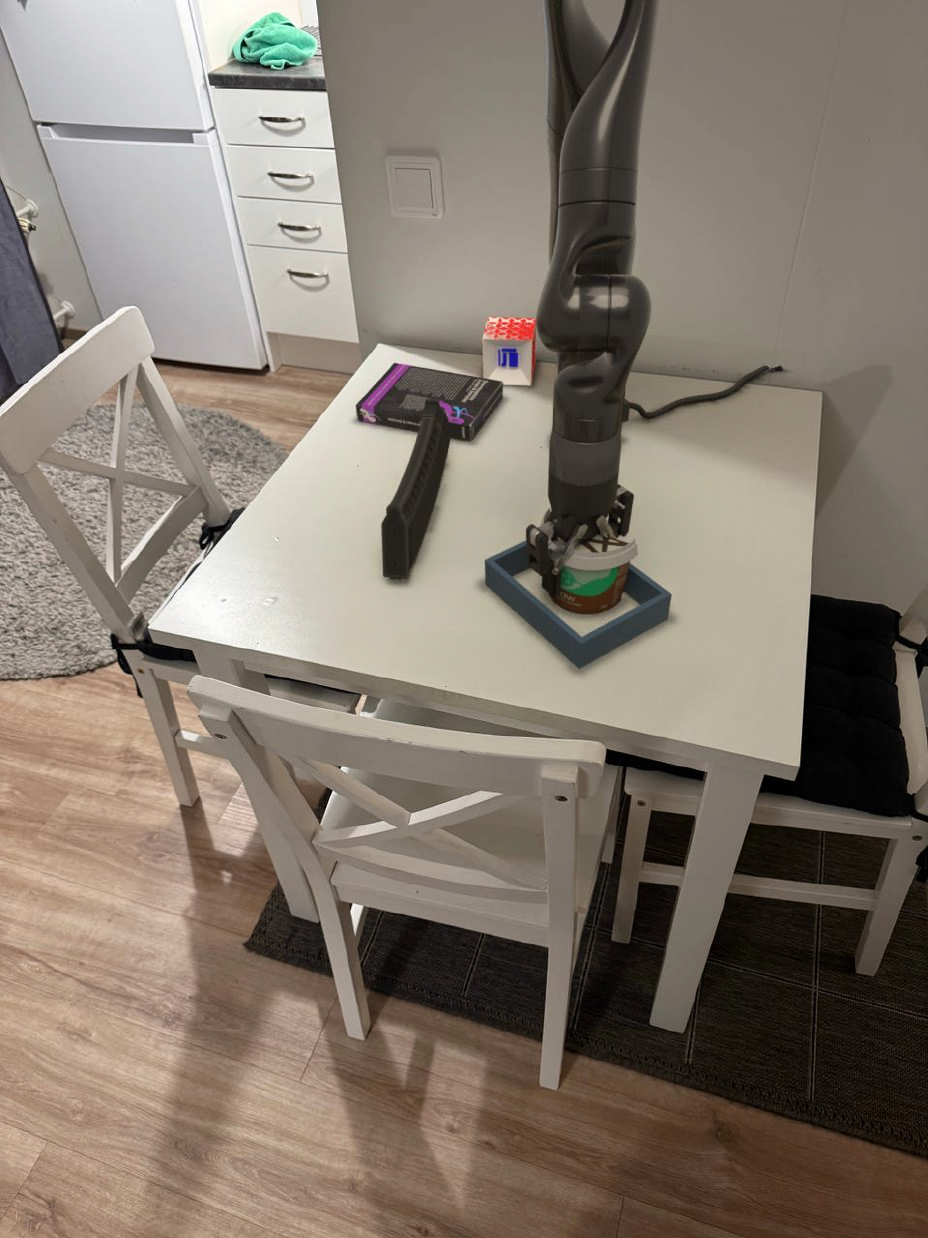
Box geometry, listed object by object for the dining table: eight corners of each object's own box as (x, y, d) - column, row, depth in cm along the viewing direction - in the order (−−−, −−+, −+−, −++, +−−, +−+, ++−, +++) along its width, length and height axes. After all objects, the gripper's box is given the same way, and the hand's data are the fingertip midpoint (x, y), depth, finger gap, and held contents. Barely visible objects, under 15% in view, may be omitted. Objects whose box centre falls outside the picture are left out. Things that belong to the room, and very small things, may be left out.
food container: (517, 597, 111) (517, 532, 104) (543, 570, 115) (545, 505, 108) (607, 635, 106) (613, 569, 99) (631, 605, 109) (639, 540, 102)
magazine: (398, 542, 105) (440, 356, 120) (371, 540, 106) (416, 355, 120) (417, 617, 120) (452, 442, 135) (393, 615, 120) (431, 441, 135)
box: (357, 423, 143) (471, 444, 137) (354, 403, 141) (470, 423, 134) (396, 381, 152) (504, 398, 146) (393, 361, 150) (504, 378, 143)
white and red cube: (535, 362, 155) (536, 318, 149) (531, 385, 149) (532, 340, 144) (488, 361, 156) (487, 316, 150) (483, 383, 150) (481, 338, 145)
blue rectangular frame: (569, 543, 118) (571, 518, 116) (667, 619, 107) (672, 593, 105) (485, 584, 113) (484, 559, 110) (579, 669, 102) (580, 643, 99)
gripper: (553, 503, 92) (549, 622, 103) (658, 454, 97) (643, 572, 109) (508, 469, 96) (509, 587, 108) (611, 425, 102) (601, 541, 113)
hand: (576, 579), depth 108 cm, fingers open, 7 cm apart
